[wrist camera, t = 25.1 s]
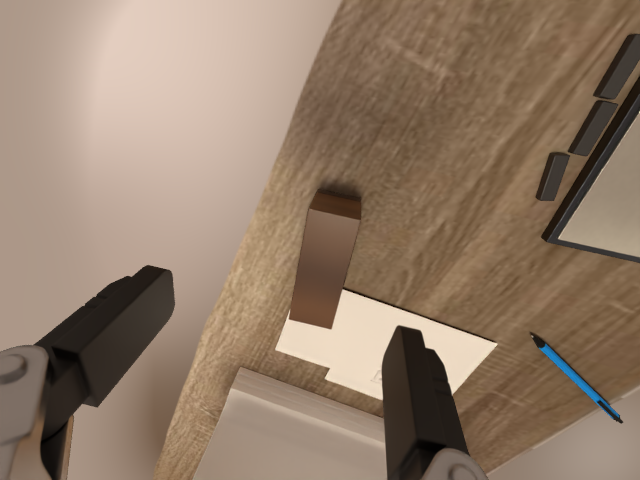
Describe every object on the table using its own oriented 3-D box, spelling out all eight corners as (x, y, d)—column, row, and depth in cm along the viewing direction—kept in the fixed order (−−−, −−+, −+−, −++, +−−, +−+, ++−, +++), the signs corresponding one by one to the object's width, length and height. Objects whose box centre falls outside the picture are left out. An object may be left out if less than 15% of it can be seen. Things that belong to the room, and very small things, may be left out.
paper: (502, 336, 34) (506, 343, 33) (436, 418, 42) (438, 425, 41) (297, 272, 34) (295, 277, 33) (270, 366, 42) (268, 373, 41)
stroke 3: (654, 37, 20) (644, 38, 21) (636, 33, 20) (627, 35, 21) (615, 99, 22) (607, 99, 23) (599, 96, 22) (592, 95, 23)
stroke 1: (570, 155, 24) (565, 153, 25) (554, 155, 25) (549, 153, 25) (554, 201, 26) (549, 198, 27) (539, 200, 26) (535, 198, 27)
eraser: (318, 188, 29) (308, 208, 24) (361, 198, 29) (361, 220, 24) (299, 285, 35) (288, 319, 29) (336, 294, 35) (331, 329, 29)
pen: (614, 419, 38) (621, 428, 37) (526, 334, 34) (531, 342, 33) (622, 417, 37) (629, 426, 36) (533, 331, 33) (539, 338, 32)
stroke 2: (619, 104, 22) (611, 103, 23) (603, 101, 22) (596, 100, 23) (587, 156, 24) (581, 154, 25) (572, 153, 24) (567, 151, 25)
